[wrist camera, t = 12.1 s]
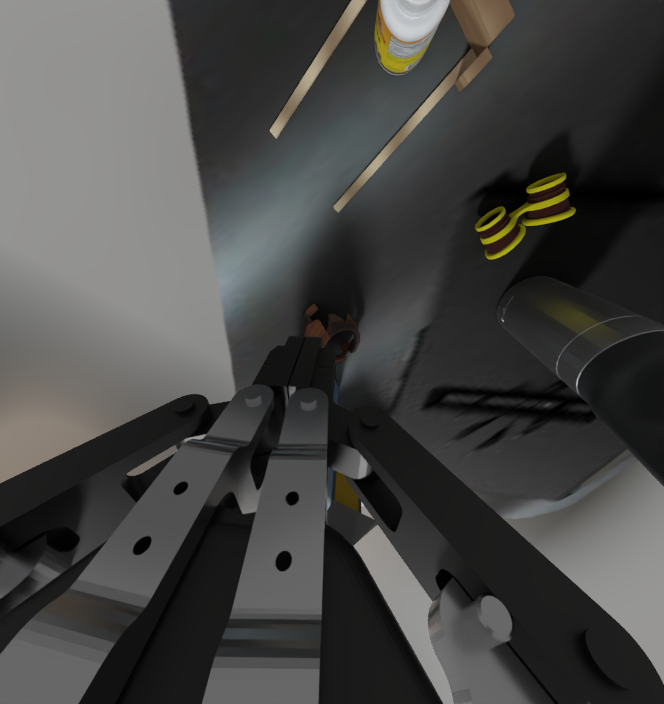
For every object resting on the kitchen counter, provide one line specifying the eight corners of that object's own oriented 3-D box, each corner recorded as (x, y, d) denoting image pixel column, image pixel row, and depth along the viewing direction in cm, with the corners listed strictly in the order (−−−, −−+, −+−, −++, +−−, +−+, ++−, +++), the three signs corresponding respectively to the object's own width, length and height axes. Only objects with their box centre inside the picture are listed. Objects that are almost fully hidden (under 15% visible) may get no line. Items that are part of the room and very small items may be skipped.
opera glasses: (547, 169, 29) (579, 165, 25) (557, 209, 31) (588, 212, 27) (466, 222, 33) (482, 226, 29) (480, 256, 35) (496, 264, 31)
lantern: (334, 427, 58) (318, 605, 33) (377, 452, 62) (392, 629, 37) (301, 452, 64) (266, 617, 39) (341, 474, 68) (334, 636, 43)
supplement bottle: (384, -16, 23) (402, -141, 14) (439, 3, 23) (489, -109, 15) (366, 69, 26) (372, 8, 17) (415, 84, 26) (445, 32, 18)
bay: (343, 218, 34) (342, 220, 31) (263, 123, 29) (253, 115, 26) (500, 48, 24) (519, 28, 21) (420, -135, 20) (432, -193, 17)
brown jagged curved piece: (321, 286, 40) (344, 311, 34) (352, 314, 47) (375, 338, 41) (275, 338, 42) (289, 369, 37) (310, 357, 49) (327, 386, 44)
